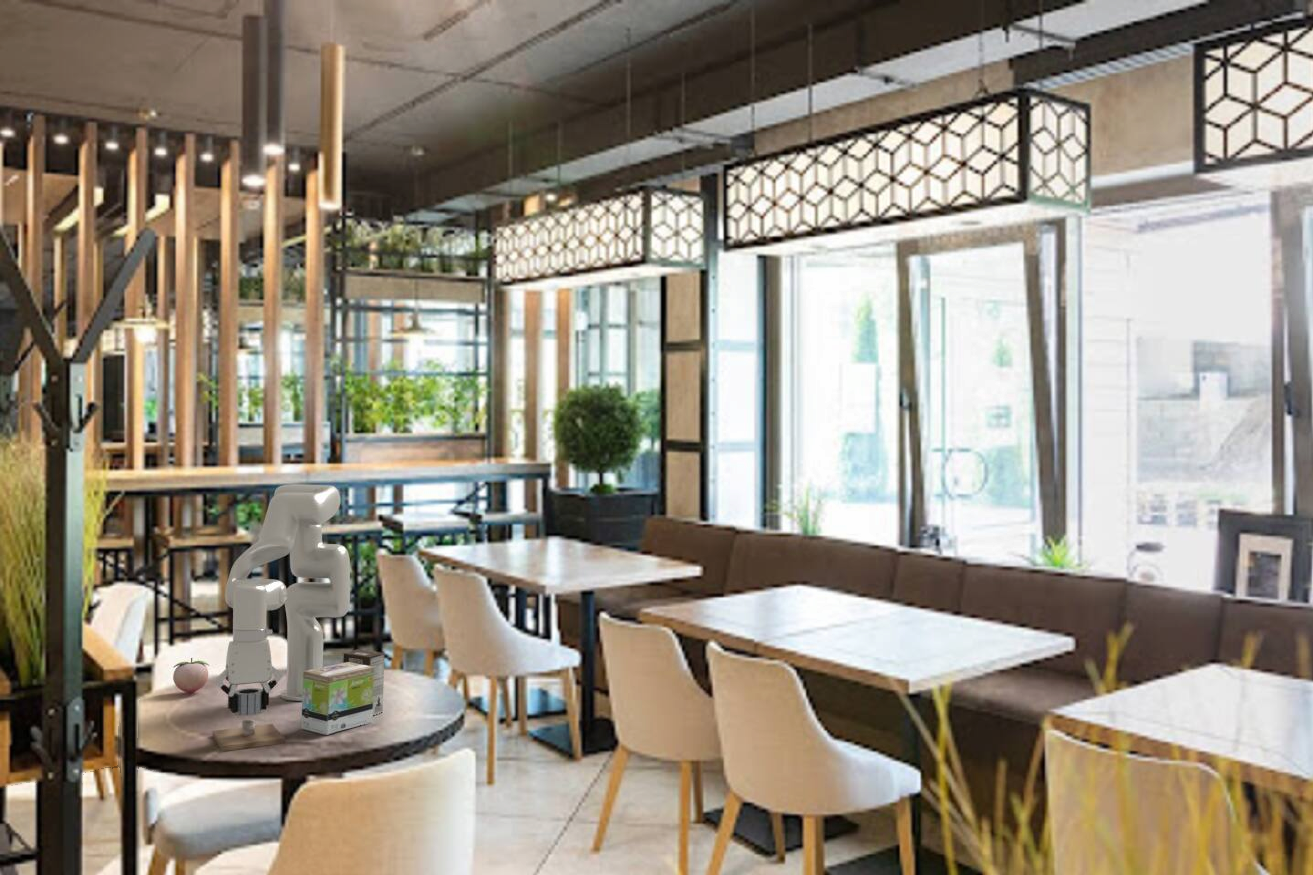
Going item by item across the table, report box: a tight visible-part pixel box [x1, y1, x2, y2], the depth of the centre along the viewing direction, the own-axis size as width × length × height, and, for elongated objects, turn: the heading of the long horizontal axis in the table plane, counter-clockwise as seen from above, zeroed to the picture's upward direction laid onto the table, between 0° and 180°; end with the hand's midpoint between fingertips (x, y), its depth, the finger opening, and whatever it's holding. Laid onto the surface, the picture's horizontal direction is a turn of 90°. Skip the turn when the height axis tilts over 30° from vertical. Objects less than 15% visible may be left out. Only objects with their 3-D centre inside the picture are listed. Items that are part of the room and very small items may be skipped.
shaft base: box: [211, 719, 286, 752], centre depth 268 cm, size 14×14×4 cm
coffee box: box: [342, 648, 385, 716], centre depth 293 cm, size 9×6×16 cm
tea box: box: [300, 662, 374, 736], centre depth 281 cm, size 15×10×15 cm
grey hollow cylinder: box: [233, 687, 264, 717], centre depth 267 cm, size 6×6×5 cm
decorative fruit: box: [172, 657, 210, 695], centre depth 309 cm, size 9×8×10 cm
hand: (248, 709), depth 267 cm, fingers closed on grey hollow cylinder, 6 cm apart
